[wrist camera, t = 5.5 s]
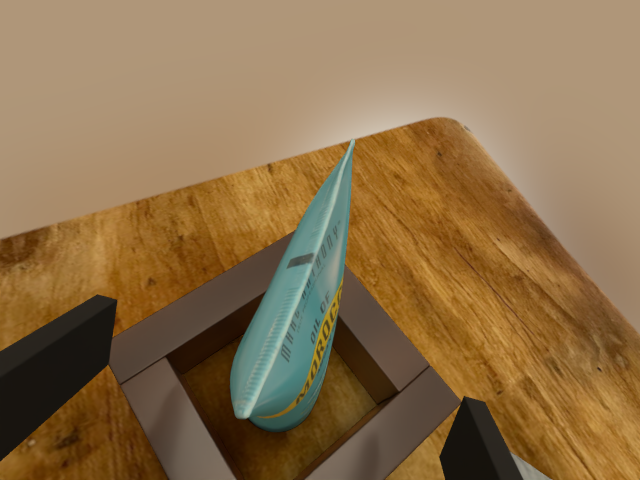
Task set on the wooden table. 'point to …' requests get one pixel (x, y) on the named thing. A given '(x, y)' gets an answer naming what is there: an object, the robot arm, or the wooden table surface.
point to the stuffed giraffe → (528, 470)
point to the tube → (296, 315)
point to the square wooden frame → (233, 320)
